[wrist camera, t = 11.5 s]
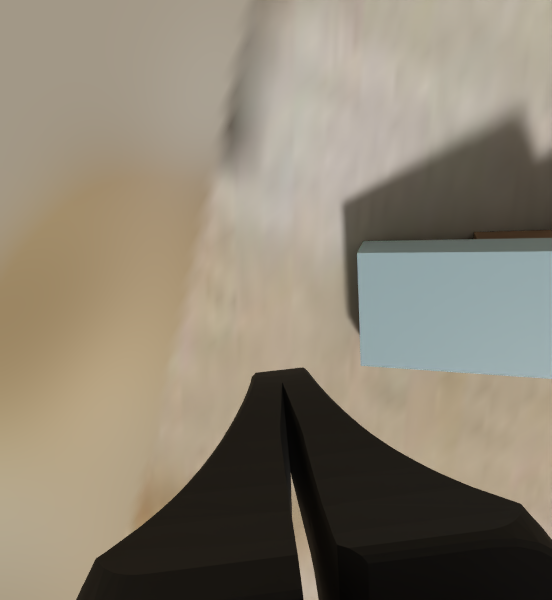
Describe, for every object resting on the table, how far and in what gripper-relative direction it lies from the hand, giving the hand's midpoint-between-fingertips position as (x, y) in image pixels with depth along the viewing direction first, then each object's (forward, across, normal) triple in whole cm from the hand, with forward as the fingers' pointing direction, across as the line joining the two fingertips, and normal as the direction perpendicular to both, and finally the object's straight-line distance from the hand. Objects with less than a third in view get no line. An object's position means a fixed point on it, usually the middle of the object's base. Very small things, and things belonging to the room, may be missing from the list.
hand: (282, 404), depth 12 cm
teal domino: (+6, -4, 0) cm, 7 cm away
